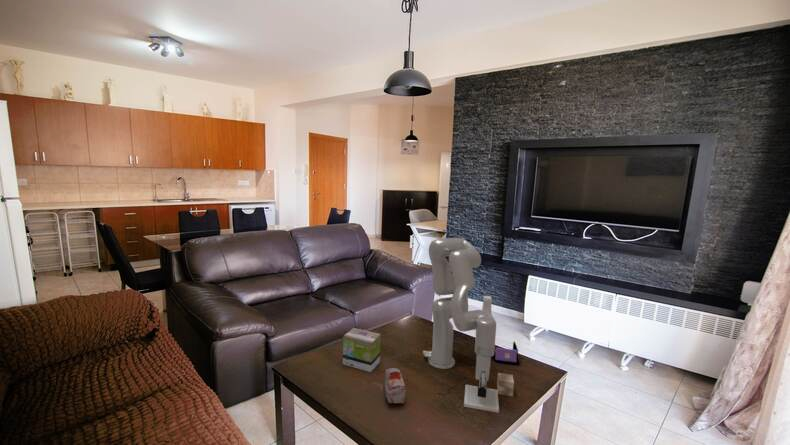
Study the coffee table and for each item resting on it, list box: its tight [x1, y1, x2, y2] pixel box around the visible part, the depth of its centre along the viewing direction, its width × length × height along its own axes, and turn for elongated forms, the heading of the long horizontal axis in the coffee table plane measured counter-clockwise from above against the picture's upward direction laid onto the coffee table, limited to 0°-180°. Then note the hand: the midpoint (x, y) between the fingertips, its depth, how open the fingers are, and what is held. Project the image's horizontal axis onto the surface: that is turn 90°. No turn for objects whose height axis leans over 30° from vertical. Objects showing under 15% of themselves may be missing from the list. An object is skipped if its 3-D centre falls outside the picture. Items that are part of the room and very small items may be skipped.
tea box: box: [342, 327, 382, 373], centre depth 161 cm, size 15×10×15 cm, turn 68°
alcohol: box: [481, 295, 496, 321], centre depth 173 cm, size 9×9×30 cm
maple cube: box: [496, 372, 515, 397], centre depth 145 cm, size 6×6×6 cm
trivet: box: [463, 384, 500, 414], centre depth 139 cm, size 13×13×1 cm
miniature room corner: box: [492, 341, 520, 366], centre depth 172 cm, size 12×12×7 cm
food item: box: [383, 367, 407, 404], centre depth 139 cm, size 14×8×10 cm, turn 12°
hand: (481, 390), depth 138 cm, fingers open, 7 cm apart
